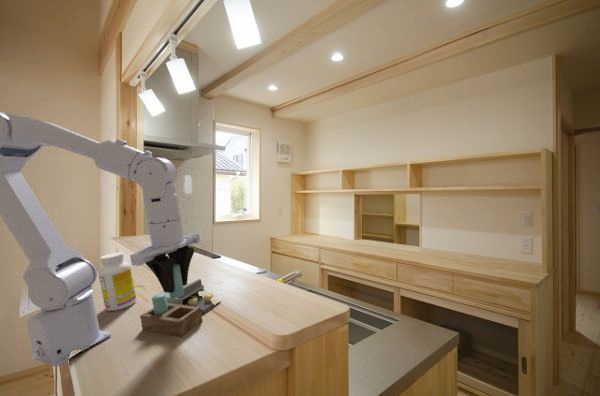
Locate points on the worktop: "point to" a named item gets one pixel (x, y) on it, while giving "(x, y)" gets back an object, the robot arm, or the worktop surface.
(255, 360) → the worktop surface
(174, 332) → the socket strip
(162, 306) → the pin seated
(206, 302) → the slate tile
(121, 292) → the supplement bottle
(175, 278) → the pin loose
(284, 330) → the worktop surface
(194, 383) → the worktop surface
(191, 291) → the housing
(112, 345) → the worktop surface
